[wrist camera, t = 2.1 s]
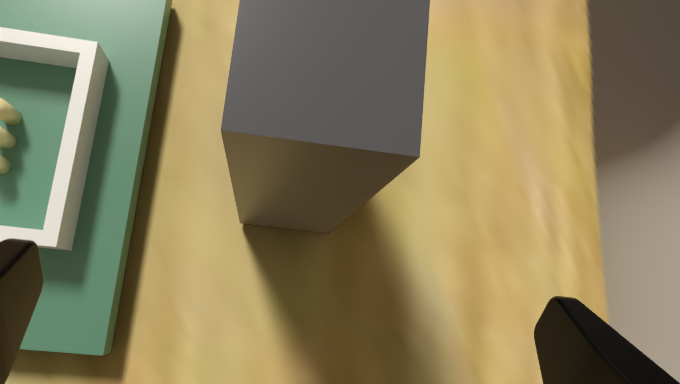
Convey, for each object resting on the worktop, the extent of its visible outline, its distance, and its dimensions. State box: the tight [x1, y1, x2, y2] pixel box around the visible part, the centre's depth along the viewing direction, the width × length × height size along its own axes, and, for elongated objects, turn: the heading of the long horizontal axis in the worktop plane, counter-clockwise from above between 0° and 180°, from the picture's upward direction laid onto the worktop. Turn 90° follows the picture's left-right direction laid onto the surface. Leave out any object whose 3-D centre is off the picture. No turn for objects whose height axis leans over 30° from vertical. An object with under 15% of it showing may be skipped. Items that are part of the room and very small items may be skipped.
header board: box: [0, 0, 172, 356], centre depth 19 cm, size 14×9×2 cm, turn 175°
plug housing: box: [221, 0, 430, 233], centre depth 16 cm, size 5×4×12 cm
